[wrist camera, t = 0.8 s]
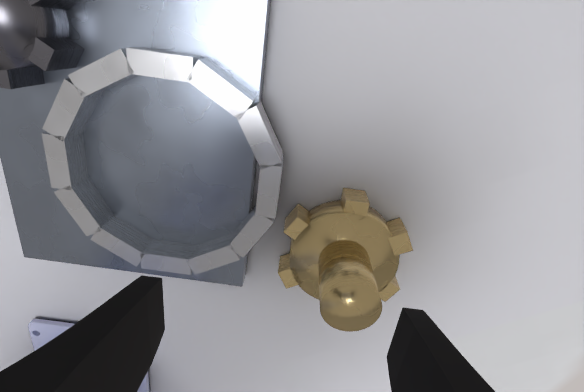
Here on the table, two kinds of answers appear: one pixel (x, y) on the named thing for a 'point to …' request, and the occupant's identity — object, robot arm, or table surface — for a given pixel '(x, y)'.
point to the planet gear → (344, 258)
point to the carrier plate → (138, 133)
